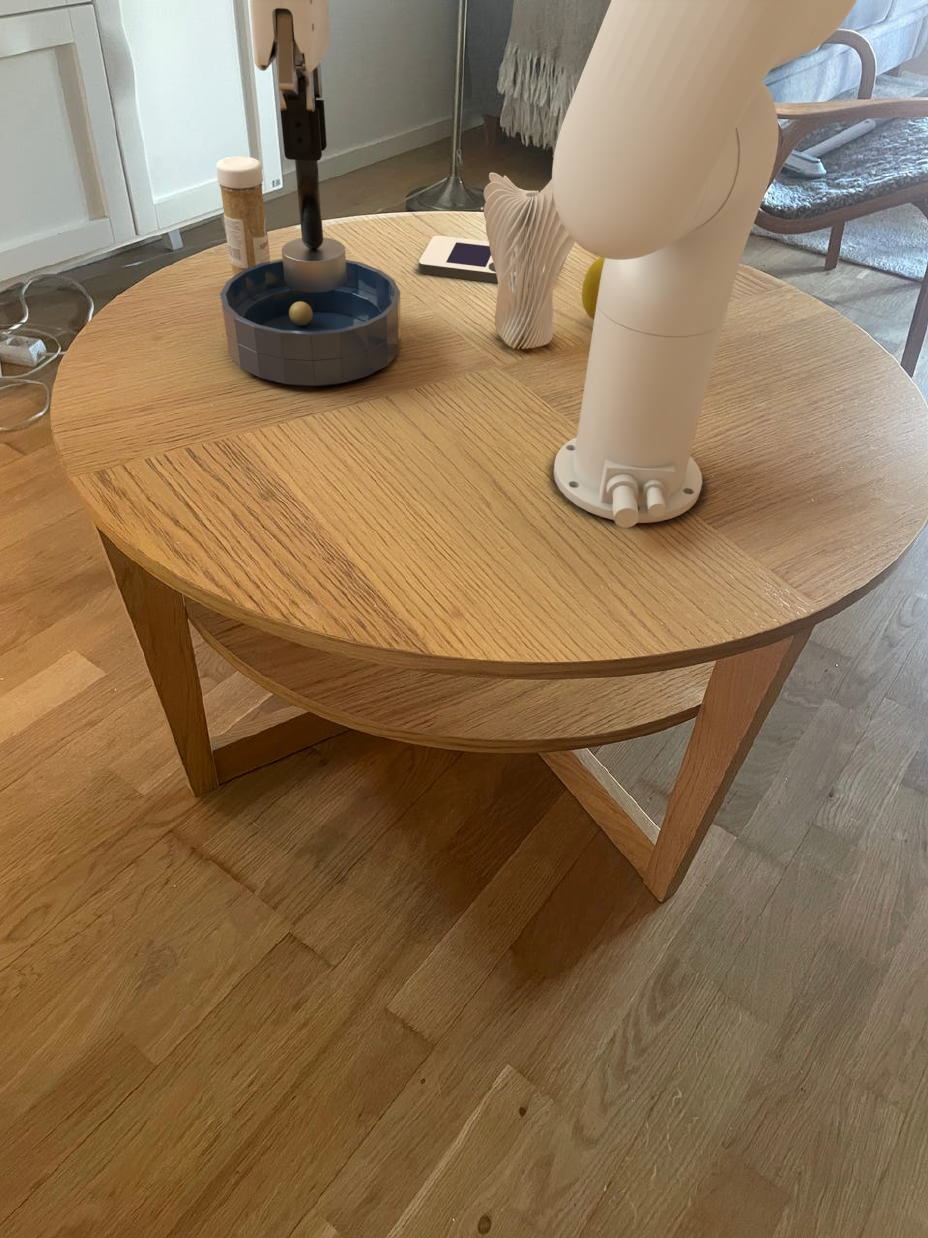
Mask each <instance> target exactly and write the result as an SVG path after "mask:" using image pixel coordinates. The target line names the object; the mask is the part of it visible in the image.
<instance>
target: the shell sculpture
mask: <svg viewBox="0 0 928 1238" xmlns="http://www.w3.org/2000/svg"><path fill="white" fill-rule="evenodd" d="M488 178H489V181H490V182H489V183H488V184H487V185H485V187H484V189H483V198H484V201H485V203H484V205H483V216H484V219H485V231H486V232H485V233H486V237H487V241H489V246H490V252H491V256H492V260H493V263H494V267H495V271H496V275H497V280H498V283H497V292H496V302H495V311H494V326H495V331H496V332H497V334H498V335H499V337H500V338H501V339H502V340H503V342H504V343H505V344H506V345H507V346H508V347H509V348H512V349H513V350H514V349H516V348H517V350H519V349H520V347H521V349H522V350H524V349H526V350H527V349H532V348H533V349H534V348H539V347H543V346H545V345H548V344H549V343H550V342H551V341H552V339H553V336H554V304H553V303H554V302H553V299H554V285H555V283H556V281H557V279H558V278H559V276H560V273H561V272H562V269H563V267H564V265H565V263H566V260H567V258H568V256H569V254H570V252H571V251H572V250H573V247H574V245H575V244H576V242H575V240H574V239H573V238H572V237H571V236H570V235H569V233H568V232H567V231H566V229H565V227H564V225H563V224H562V222H561V219H560V217H559V215H558V212H557V209H556V205H555V201H554V195H553V186H552V178H551V179H550V180H549V182H548V183H547V184H546V185H545V186H544V187H543V189H541V190H540V192H539V190H528V189H527V190H526V189H522V188H519V187H517V186H516V185H515V184H514V183H513V181H512V180H511V179H510V178H509V177H508V176H506V175H503V176H501V175H500V174H498V173H496V172H490V173H489V174H488ZM515 255H516V257H515ZM515 264H516V273H515ZM544 266H545V268H544ZM543 269H544V272H543ZM510 274H511V278H510ZM528 283H529V284H528ZM511 284H512V285H511Z"/></svg>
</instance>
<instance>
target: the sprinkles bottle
mask: <svg viewBox="0 0 928 1238" xmlns="http://www.w3.org/2000/svg"><path fill="white" fill-rule="evenodd" d="M215 168H216V177H217V183H218V184H219V185H218V186H219V188H220V193H221V201H222V209H223V221H224V227H225V228H224V229H225V236H226V242H227V250H228V256H229V262H230V265H231V272H232V277H234V276H235V275H236V274H238V273H239V272H241V271H243V270H245V269H248V268H250V267H253V266H255V265H258V264H260V263H265V262H269V261H271V254H270V245H269V236H268V228H267V218H266V215H265V204H264V196H263V181H264V176H263V168H262V163H261V162H260V160H258V159H257V158H254V157H251V156H250V157H249V156H243V155H237V156H235V155H234V156H228V157H224V158H221V159H220V160H218V161H217V162H216V164H215Z"/></svg>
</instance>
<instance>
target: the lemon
mask: <svg viewBox="0 0 928 1238" xmlns="http://www.w3.org/2000/svg"><path fill="white" fill-rule="evenodd" d="M604 260H605V258H603V257H600V256H599V257H598V258H597V259H595V260H594V261H593V262H592V263H591V265H590V266H589V267H588V269H587V271H586V273H585V276H584V278H583V282H582V289H581V303H582V306H583V308H584V311H585V313H586V315H587V316H588V317H590V318H591V319H592V320H593V321H594V318H595V311H596V304H597V297H598V292H599V285H600V279H601V273H602V269H603V264H604Z"/></svg>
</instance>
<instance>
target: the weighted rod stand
mask: <svg viewBox="0 0 928 1238" xmlns="http://www.w3.org/2000/svg"><path fill="white" fill-rule="evenodd" d="M294 167H295V176H296V178H295V179H296V188H297V189H296V190H297V199H298V200H297V201H298V210H299V211H298V212H299V223H300V231H301V237H300V238H295V239H293V240H290V241H288V242H285V244H284V245H282V247H281V257H282V258H281V259H283V267H284V277H285V282H286V284H287V285H288V286H289V287H291V288H293V289H295V290H298V291H303V292H326V291H331V290H334V289H337V288H339V287H341V286H343V285H344V284H345V283H346V281H347V271H346V260H347V257H346V256H347V255H346V247H345V245H344V243H342V242H340V241H339V240H336V239H333V238H329V237H324V230H323V217H322V203H321V202H322V201H321V189H320V179H319V178H320V177H319V175H320V174H319V164H318V161H311V160H294Z"/></svg>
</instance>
